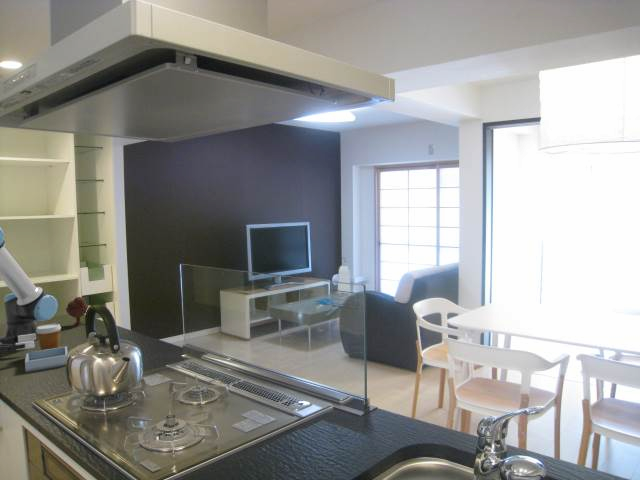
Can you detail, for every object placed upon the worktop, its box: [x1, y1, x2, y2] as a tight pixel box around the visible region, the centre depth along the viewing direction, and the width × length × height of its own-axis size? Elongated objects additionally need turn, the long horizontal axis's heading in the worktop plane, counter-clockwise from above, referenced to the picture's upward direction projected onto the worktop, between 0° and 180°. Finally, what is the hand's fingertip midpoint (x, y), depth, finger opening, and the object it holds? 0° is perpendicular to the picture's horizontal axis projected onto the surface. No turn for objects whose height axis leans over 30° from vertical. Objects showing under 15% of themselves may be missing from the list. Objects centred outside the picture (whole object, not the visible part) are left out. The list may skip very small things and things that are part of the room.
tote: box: [24, 346, 69, 373], centre depth 201 cm, size 15×15×4 cm
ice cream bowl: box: [65, 296, 90, 327], centre depth 266 cm, size 11×11×15 cm
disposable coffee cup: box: [36, 323, 62, 350], centre depth 214 cm, size 10×10×12 cm
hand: (35, 340), depth 211 cm, fingers open, 13 cm apart
